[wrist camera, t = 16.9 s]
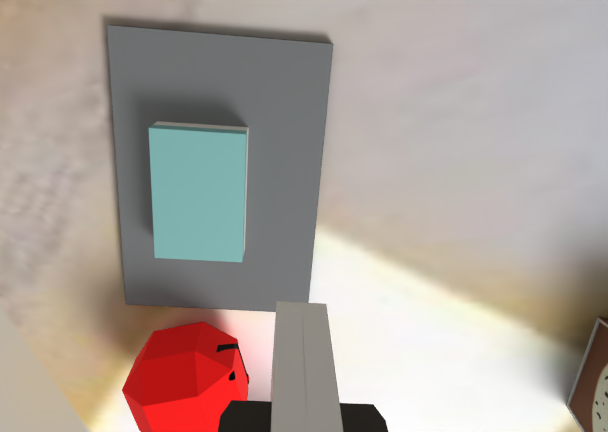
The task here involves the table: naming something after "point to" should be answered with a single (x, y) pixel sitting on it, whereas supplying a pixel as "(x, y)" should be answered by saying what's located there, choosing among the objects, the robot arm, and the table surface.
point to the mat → (260, 167)
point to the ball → (185, 379)
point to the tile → (198, 190)
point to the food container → (592, 383)
